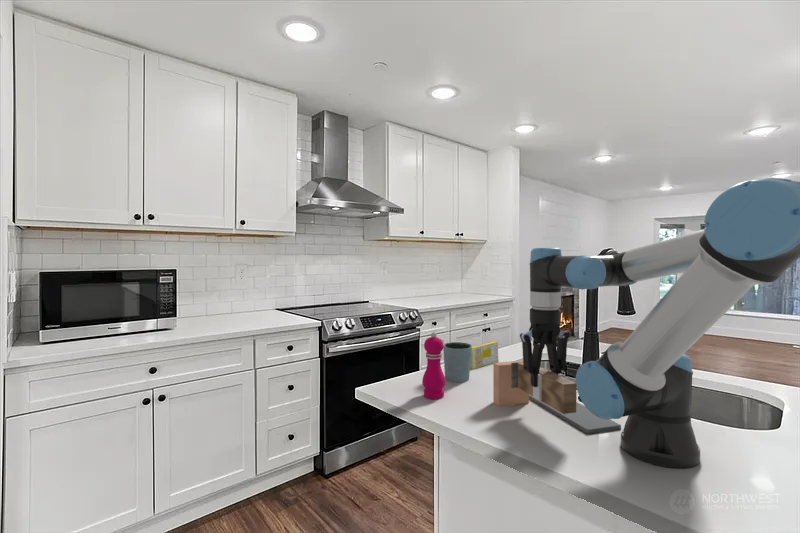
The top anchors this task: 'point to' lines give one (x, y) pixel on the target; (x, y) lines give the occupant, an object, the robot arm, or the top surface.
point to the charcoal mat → (582, 418)
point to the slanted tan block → (506, 386)
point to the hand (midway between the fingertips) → (544, 397)
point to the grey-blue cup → (457, 361)
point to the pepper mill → (433, 368)
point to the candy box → (484, 355)
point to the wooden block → (547, 388)
